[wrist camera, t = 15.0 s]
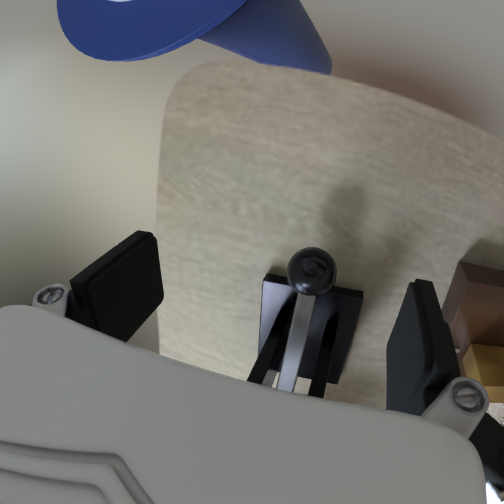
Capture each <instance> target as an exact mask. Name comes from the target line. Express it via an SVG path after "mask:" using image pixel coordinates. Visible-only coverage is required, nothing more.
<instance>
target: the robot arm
mask: <svg viewBox="0 0 504 504" xmlns="http://www.w3.org/2000/svg"><path fill="white" fill-rule="evenodd" d="M109 1H116V2H123V1H131V0H109ZM70 284H71V288H72V289H71V290H70V291H68V288H67V287H66V286H65V285H63V284H51V285H48V286H45V287H43V288H42V289H40V290H39V291H38V292H37V293H36V294H35V296H34V298H33V301H32V304H31V305H11V306H5V307H3V308H1V309H0V504H504V427H503V426H502V425H500V424H499V423H498V422H497V421H496V420H495V419H494V418H493V417H491V416H490V415H489V414H488V413H487V412H486V411H487V409H488V406H489V396H488V393H487V391H486V389H485V388H484V386H483V385H482V384H481V383H479V382H478V381H476V380H475V379H473V378H469V377H461V372H460V367H459V363H458V359H457V354H456V350H455V346H454V342H453V339H452V335H451V331H450V328H449V325H448V323H447V322H444V319H443V315H442V312H441V308H440V305H439V302H438V298H437V295H436V292H435V289H434V286H433V283H432V281H427V280H421V279H416V280H415V282H410V283H409V285H408V288H407V291H406V294H405V297H404V300H403V303H402V306H401V308H400V311H399V314H398V317H397V319H396V322H395V325H394V327H393V330H392V333H391V335H390V338H389V340H388V344H387V349H386V358H387V396H386V410H385V409H379V408H374V407H368V406H362V405H356V404H350V403H344V402H338V401H333V400H328V399H323V398H318V397H313V396H308V395H303V394H298V393H294V392H289V391H285V390H280V389H276V388H272V387H268V386H264V385H260V384H256V383H252V382H248V381H244V380H240V379H237V378H233V377H229V376H226V375H222V374H219V373H215V372H212V371H209V370H205V369H202V368H199V367H196V366H192V365H189V364H186V363H183V362H180V361H177V360H174V359H171V358H168V357H165V356H162V355H159V354H156V353H154V352H151V351H148V350H145V349H143V348H140V347H137V346H134V345H131V344H129V343H126V342H127V341H128V340H129V339H130V338H131V336H132V335H133V334H134V333H135V332H136V331H137V329H139V327H140V326H141V325H142V324H143V323H144V322H145V321H146V319H147V318H148V317H149V316H150V315H151V314H152V313H153V312H154V310H155V309H156V308H157V307H158V306H159V305H160V304H161V302H162V301H163V298H164V291H163V284H162V277H161V270H160V262H159V254H158V246H157V239H156V238H155V237H154V235H153V234H152V233H151V232H145V231H139V230H138V231H136V232H135V233H133V234H132V235H130V236H129V237H128V238H126V239H125V240H123V241H122V242H121V243H119V244H118V245H117V246H115V247H114V248H112V249H111V250H109V251H108V252H107V253H105V254H104V255H103V256H101V257H100V258H99V259H97V260H96V261H95V262H93V263H92V264H90V265H89V266H88V267H87V268H85V269H84V270H83V271H81V272H80V273H79V274H77V275H76V276H75V277H74V278H72V279H71V280H70Z"/></svg>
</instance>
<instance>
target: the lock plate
mask: <svg viewBox="0 0 504 504" xmlns="http://www.w3.org/2000/svg"><path fill="white" fill-rule="evenodd" d="M441 312H442V315H443V319H444V322H447V323H448V325H449V328H450V331H451V335H452V339H453V342H454V346H455V350H456V354H457V359H458V363H459V367H460V372H461V377H466V373H465V369H464V365H463V361H462V359H463V357H464V356H465V354H466V352H467V350H468V348H469V346H470V344H471V343H472V344H481V345H490V346H500V347H504V271H501V270H496V269H492V268H487V267H482V266H478V265H473V264H468V263H463V262H458V265H457V269H456V272H455V274H454V277H453V280H452V283H451V286H450V289H449V291H448V294H447V297H446V299H445V302H444V305H443V307H442V310H441Z"/></svg>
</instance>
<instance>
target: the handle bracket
mask: <svg viewBox="0 0 504 504" xmlns="http://www.w3.org/2000/svg"><path fill="white" fill-rule="evenodd" d="M363 295H364V292H363V291H358V290H353V289H347V288H342V287H337V286H333V287H332V288H331V289H330V290H329V291H328V292H327V293H325V294H324V295H322V296H319V297H316V299H315V304H314V309H313V314H312V318H311V323H310V327H309V332H308V336H307V340H306V345H305V349H304V353H303V357H302V361H301V365H300V369H299V373H298V377H302V378H307V379H312V381H311V385H310V389H309V392H308V396H313V397H318V398H323V397H324V393H325V388H326V383H332V384H338V382H339V379H340V376H341V373H342V370H343V367H344V364H345V361H346V357H347V354H348V351H349V348H350V345H351V341H352V338H353V335H354V331H355V328H356V324H357V321H358V317H359V314H360V310H361V306H362V303H363ZM297 296H298V293H296V292H295V291H294V290H293V289H292V287H291V286H290V284H289V282H288V279H287V277H284V276H279V275H274V274H269V273H267V274H266V276H265V277H264V279H263V285H262V301H261V316H260V331H259V346H258V358H257V360H256V362H255V364H254V366H253V368H252V371H251V373H250V375H249V377H248V379H247V381H248V382H252V383H256V384H260V385H264V386H268V387H272V384H273V382H274V379H275V377H276V374H277V372H280V370H281V366H282V362H283V358H284V354H285V350H286V345H287V341H288V337H289V332H290V328H291V323H292V319H293V314H294V310H295V305H296V301H297Z"/></svg>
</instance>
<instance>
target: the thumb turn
mask: <svg viewBox="0 0 504 504" xmlns="http://www.w3.org/2000/svg"><path fill="white" fill-rule="evenodd" d="M462 361H463V365H464V369H465V373H466V377H469V378H473V379H475V380H476V381H478V382H479V383H481V384H482V385H483V386H484V388H485V389H486V391H487V393H488V396H489V403H504V347H500V346H490V345H481V344H472V343H471V344H470V346H469V348H468V350H467V352H466V354H465V356H464V357H463V359H462Z"/></svg>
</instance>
